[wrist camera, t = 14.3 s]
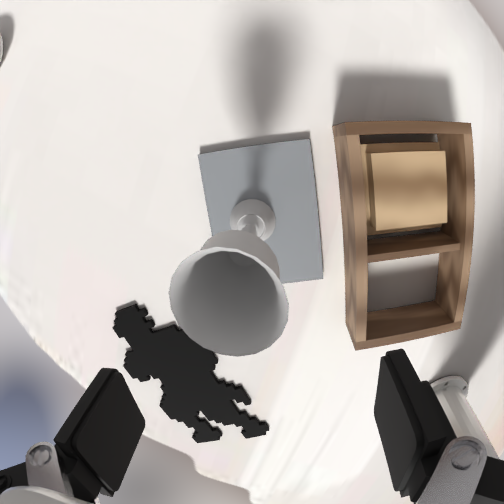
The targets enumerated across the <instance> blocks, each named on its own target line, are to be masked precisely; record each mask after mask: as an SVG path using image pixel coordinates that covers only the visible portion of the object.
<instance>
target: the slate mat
mask: <svg viewBox="0 0 504 504" xmlns="http://www.w3.org/2000/svg"><path fill="white" fill-rule="evenodd" d="M198 158H199V164H200V170H201V176H202V182H203V188H204V194H205V199H206V205H207V211H208V216H209V222H210V227H211V232H212V236H214V235H215V234H217V233H219V232H223V231H227V230H232V229H231V226H230V215H231V212H232V210H233V209H234V207H235V206H236V205H237V204H239V203H240V202H242V201H244V200H248V199H257V200H260V201H262V202H264V203H266V204H267V205H268V206H269V207H270V208H271V209H272V211H273V212H274V216H275V219H276V222H275V229H274V231H273V233H272V235H271V236H270V237H269V238H268V239H266V240H265V241H264V242H265V243H266V244H268V245H269V247H270V248H271V250H272V251H273V253H274V254H275V256H276V258H277V261H278V265H279V268H280V282H281V283H282V284H283V283H292V282H300V281H309V280H317V279H323V267H322V253H321V240H320V228H319V217H318V207H317V197H316V187H315V178H314V170H313V162H312V154H311V146H310V139H304V140H294V141H285V142H277V143H269V144H261V145H254V146H247V147H240V148H234V149H228V150H222V151H216V152H210V153H204V154H199V155H198Z"/></svg>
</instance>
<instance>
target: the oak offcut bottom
mask: <svg viewBox="0 0 504 504" xmlns="http://www.w3.org/2000/svg"><path fill="white" fill-rule="evenodd" d="M360 147H361V156H362V166H363V177H364V190H365V205H366V224H367V236H369V235H378V234H386V233H395V232H403V231H412V230H420V229H429V228H437V227H442V223H440V224H431V225H422V226H414V227H405V228H396V229H388V230H379V231H376V230H375V229H374V228H372V227H371V223H370V204H369V189H368V177H367V166H366V156H365V153H373V152H392V151H420V150H440V147H439V142H400V143H374V144H360Z"/></svg>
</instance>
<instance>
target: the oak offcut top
mask: <svg viewBox="0 0 504 504" xmlns="http://www.w3.org/2000/svg"><path fill="white" fill-rule="evenodd" d="M365 156H366V166H367V177H368V189H369V204H370V223H371V227H372V228H374V229H375V230H376V231H379V230H388V229H396V228H405V227H414V226H422V225H431V224H440V223H447V173H446V156H445V151H440V150H420V151H392V152H373V153H365Z"/></svg>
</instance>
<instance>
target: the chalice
mask: <svg viewBox="0 0 504 504" xmlns="http://www.w3.org/2000/svg"><path fill="white" fill-rule="evenodd" d="M275 222H276V219H275V216H274V212H273V211H272V209H271V208H270V207H269V206H268V205H267V204H266V203H264V202H262V201H260V200H257V199H248V200H244V201H242V202H240V203H239V204H237V205H236V206H235V207H234V209H233V210H232V212H231V215H230V226H231V229H232V230H227V231H223V232H219V233H217V234H215V235H214V236H212V237H211V238H209V239H208V240H207V241H206V242H205V244H204V245H203V247H202V248H201V250H200V251H197V252H195V253H194V254H192V255H191V256H189V257H188V258H186V259H185V260H183V261H182V262H181V263H180V265H179V266H178V268H177V270H176V271H175V273H174V274H173V276H172V279H171V284H170V289H169V297H170V305H171V310H172V312H173V314H174V316H175V318H176V320H177V323H178V325H179V326H180V327H181V328H182V329H183V330H184V332H185V333H186V334H187V335H188V336H189V338H191V339H192V340H194V341H195V342H196V343H198V344H199V345H201V346H202V347H203V348H206V349H208V350H211V351H213V352H216V353H218V354H222V355H230V356H245V355H251V354H256V353H258V352H260V351H262V350H264V349H266V348H268V347H270V346H271V345H272V344H273V343H274V342H275V341H276V340H277V339H278V338H279V337H280V336H281V334H282V332H283V330H284V328H285V326H286V323H287V321H288V308H289V303H288V300H287V296H286V293H285V289H284V286H283V285H282V283H281V282H280V268H279V265H278V261H277V258H276V256H275V254H274V253H273V251H272V250H271V248H270V247H269V245H268V244H266V243H265V242H264V241H265V240H266V239H268V238H269V237H270V236H271V235H272V233H273V231H274V229H275Z"/></svg>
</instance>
